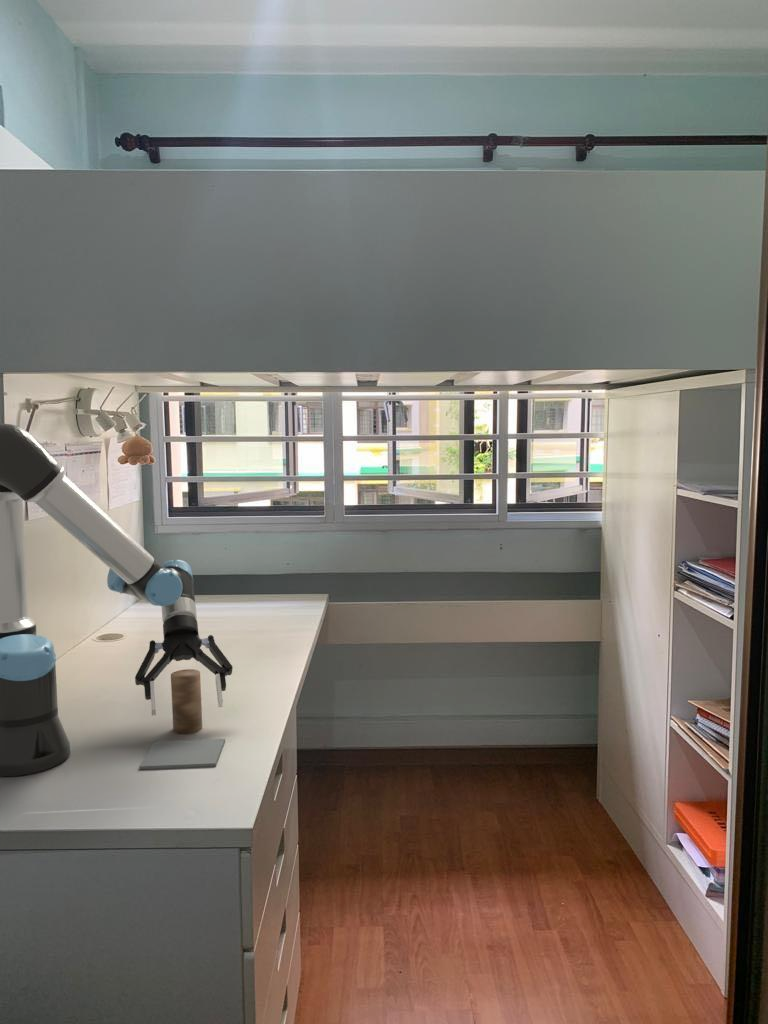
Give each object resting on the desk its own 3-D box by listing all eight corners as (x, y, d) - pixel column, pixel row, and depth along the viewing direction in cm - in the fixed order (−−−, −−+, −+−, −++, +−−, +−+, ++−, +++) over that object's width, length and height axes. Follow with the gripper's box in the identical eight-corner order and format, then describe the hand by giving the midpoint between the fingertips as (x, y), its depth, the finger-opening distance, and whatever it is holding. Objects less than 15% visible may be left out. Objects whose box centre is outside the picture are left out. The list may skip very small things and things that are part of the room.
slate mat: (139, 769, 142) (139, 766, 142) (154, 744, 154) (154, 741, 154) (215, 766, 143) (215, 763, 142) (225, 741, 154) (225, 738, 154)
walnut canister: (170, 734, 159) (167, 678, 158) (176, 724, 165) (174, 669, 164) (199, 733, 159) (197, 677, 158) (204, 723, 165) (202, 668, 164)
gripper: (234, 626, 179) (246, 709, 166) (122, 636, 171) (125, 724, 158) (237, 608, 173) (249, 692, 160) (120, 617, 165) (123, 707, 153)
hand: (187, 708), depth 159 cm, fingers open, 13 cm apart
